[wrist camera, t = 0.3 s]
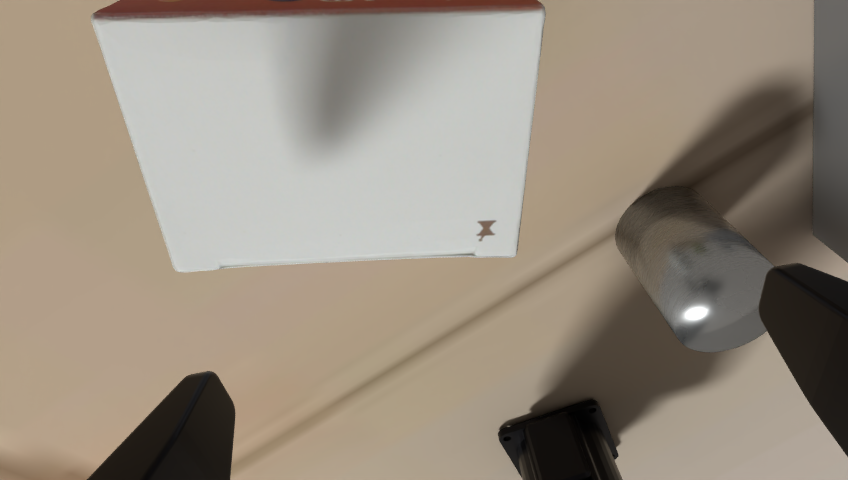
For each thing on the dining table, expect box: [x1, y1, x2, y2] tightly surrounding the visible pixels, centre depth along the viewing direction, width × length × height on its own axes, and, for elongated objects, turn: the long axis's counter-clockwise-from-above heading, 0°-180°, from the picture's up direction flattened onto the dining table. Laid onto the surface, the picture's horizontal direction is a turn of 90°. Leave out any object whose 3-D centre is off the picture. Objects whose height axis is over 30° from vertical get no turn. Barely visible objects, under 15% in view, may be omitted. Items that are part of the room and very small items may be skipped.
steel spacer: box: [615, 186, 774, 352], centre depth 23 cm, size 4×4×6 cm
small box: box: [91, 0, 546, 272], centre depth 15 cm, size 8×6×10 cm
